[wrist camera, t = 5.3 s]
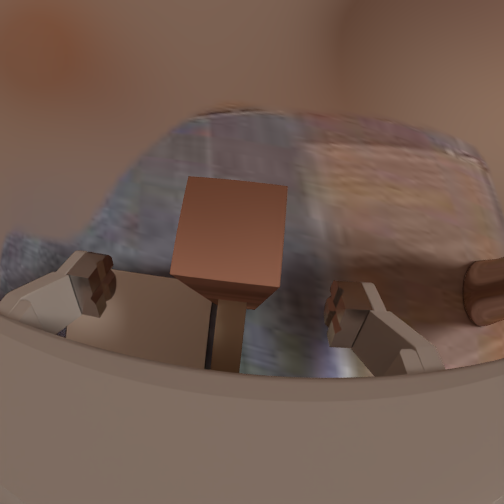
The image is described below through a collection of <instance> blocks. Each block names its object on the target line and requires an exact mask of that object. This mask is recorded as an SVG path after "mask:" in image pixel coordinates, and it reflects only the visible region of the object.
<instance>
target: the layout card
mask: <svg viewBox="0 0 504 504" xmlns="http://www.w3.org/2000/svg"><path fill="white" fill-rule="evenodd" d="M111 270H112V271H113V273H114V274H115V276H116V290H115V294H114V295H113V297H112V299H110V300H108V301H106V304H107V307H106V309H105V310H104V312H103V314H102V315H101V317H100V318H98V317H93V316H88V315H84V314H82V315H81V316H80V317H79V318H77V319H76V320H74V321H73V322H72V323H70V324H69V325H68V326H67V333H66V338H67V339H70V340H73V341H77V342H80V343H83V344H87V345H90V346H94V347H98V348H101V349H105V350H109V351H113V352H117V353H121V354H126V355H130V356H134V357H139V358H144V359H149V360H153V361H159V362H164V363H169V364H175V365H181V366H187V367H194V368H200V369H204V368H205V358H206V349H207V340H208V331H209V322H210V314H211V306H212V302H211V301H209V300H208V299H206V298H205V297H203V296H202V295H200V294H199V293H197V292H196V291H194V290H193V289H191V288H190V287H188V286H187V285H185V284H184V283H182V282H181V281H179V280H178V279H175V278H168V277H160V276H154V275H147V274H140V273H133V272H127V271H120V270H114V269H111Z"/></svg>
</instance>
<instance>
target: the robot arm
mask: <svg viewBox="0 0 504 504" xmlns="http://www.w3.org/2000/svg"><path fill="white" fill-rule="evenodd" d="M112 267H113V261H112V257H111V256H109V255H106V254H100V253H93V252H87V251H80V250H78V251H75V252H74V253H73V254H72V255H71V256H70V257H69V258H68V259H67V261H66V262H65V263H64V264H63V265H62V266H61V267H60V268H59V269H58V270H57V271H56V272H51V273H49V274H47V275H45V276H43V277H41V278H38V279H36V280H34V281H32V282H30V283H28V284H26V285H23V286H21V287H19V288H17V289H15V290H13V291H11V292H9V293H7V294H6V296H5V297H4V298H3V299H2V300H1V301H0V504H504V358H503V359H499V360H495V361H490V362H486V363H481V364H476V365H471V366H465V367H459V368H453V369H447V370H446V369H445V367H444V365H443V362H442V360H441V358H440V356H439V354H438V351H437V349H436V347H435V346H434V345H433V344H431V343H430V342H429V341H428V340H426V339H425V338H424V337H422V336H421V335H420V334H419V333H417V332H416V331H415V330H414V329H412V328H411V327H410V326H408V325H407V324H406V323H405V322H403V321H402V320H401V319H399V318H398V317H397V316H396V315H394V314H393V313H392V312H390V311H386V308H385V306H384V304H383V302H382V300H381V297H380V295H379V293H378V291H377V289H376V287H375V285H374V284H373V283H371V282H349V281H335V280H334V281H333V283H332V285H331V288H330V292H331V296H330V297H329V298H328V299H327V300H326V303H325V307H324V322H325V325H326V326H328V327H329V329H328V331H327V337H328V341H329V346H330V347H341V348H352V350H353V351H354V353H355V354H356V355H357V356H358V357H359V359H360V360H361V361H362V362H363V363H364V364H365V366H366V367H367V368H368V369H369V370H370V372H371V373H372V374H373V375H374V376H375V377H354V378H303V377H280V376H265V375H253V374H242V373H232V372H223V371H215V370H208V369H200V368H194V367H187V366H181V365H175V364H169V363H164V362H159V361H153V360H149V359H144V358H139V357H134V356H130V355H126V354H121V353H117V352H113V351H109V350H105V349H101V348H98V347H94V346H90V345H87V344H83V343H80V342H77V341H73V340H70V339H67V338H64V337H61V336H58V335H55V334H57V333H58V332H59V331H61V330H62V329H63V328H65V327H66V326H68V325H69V324H70V323H72V322H73V321H74V320H76V319H77V318H79V317H80V316H81V315H82V314H84V315H88V316H93V317H98V318H100V317H101V315H102V314H103V312H104V310H105V309H106V307H107V304H106V301H108V300H110V299H112V297H113V295H114V294H115V290H116V276H115V274H114V273H113V271H112V270H111V268H112Z"/></svg>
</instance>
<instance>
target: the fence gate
mask: <svg viewBox="0 0 504 504" xmlns="http://www.w3.org/2000/svg"><path fill="white" fill-rule="evenodd" d="M287 187H288V186H281V185H273V184H265V183H256V182H247V181H238V180H227V179H216V178H205V177H191V176H189V177H188V181H187V185H186V190H185V195H184V199H183V204H182V209H181V214H180V219H179V224H178V229H177V235H176V240H175V246H174V251H173V257H172V263H171V269H170V275H172V276H173V277H175V278H176V279H178V280H179V281H181V282H182V283H184V284H185V285H187V286H188V287H190V288H191V289H193V290H194V291H196V292H197V293H199V294H200V295H202V296H203V297H205V298H206V299H208V300H209V301H211V302H213V303H214V304H216V305H218V308H217V316H216V325H215V333H214V342H213V351H212V361H211V370H215V371H223V372H232V373H239V368H240V359H241V350H242V341H243V332H244V323H245V314H246V309H253V310H255V309H256V308H257V307H258V306H259V305H260V304H262V303H263V302H264V301H265V300H266V299H267V298H268V297H269V296H270V295H272V294H273V293H274V292H275V291H276V290H277V289H278V288H279V287H280V278H281V266H282V255H283V242H284V230H285V216H286V202H287Z"/></svg>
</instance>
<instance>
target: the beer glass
mask: <svg viewBox="0 0 504 504" xmlns="http://www.w3.org/2000/svg"><path fill="white" fill-rule="evenodd" d="M463 300H464V305H465V309H466V312H467V314H468V316H469V318H470V319H471V321H472V322H473V323H474V324H476V325H478V326H488V325H491V324H494V323H496V322H499V321H502V320H504V257H501V258H498V259H490V260H480V261H476V262H475V263H473V264H472V265H471V266H470V267H469V269H468V271H467V273H466V275H465V279H464V284H463Z"/></svg>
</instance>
